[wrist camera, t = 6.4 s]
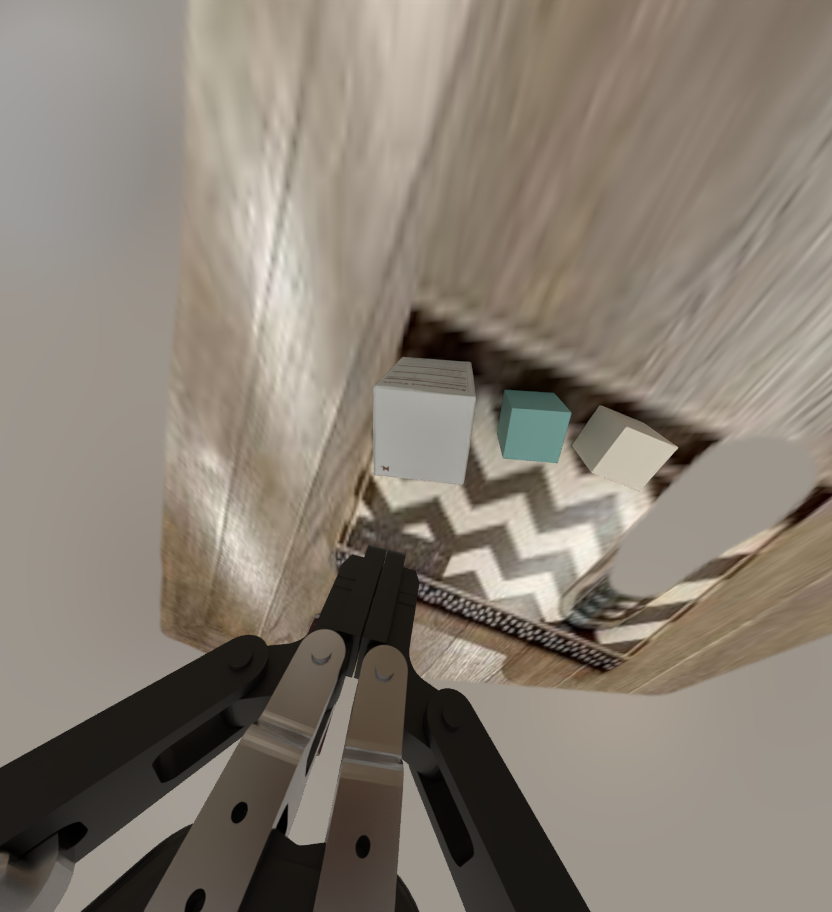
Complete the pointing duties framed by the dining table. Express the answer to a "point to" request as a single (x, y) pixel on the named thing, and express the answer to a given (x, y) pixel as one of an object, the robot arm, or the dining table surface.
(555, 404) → the teal block
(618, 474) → the cream block
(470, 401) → the supplement box
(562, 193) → the dining table surface
